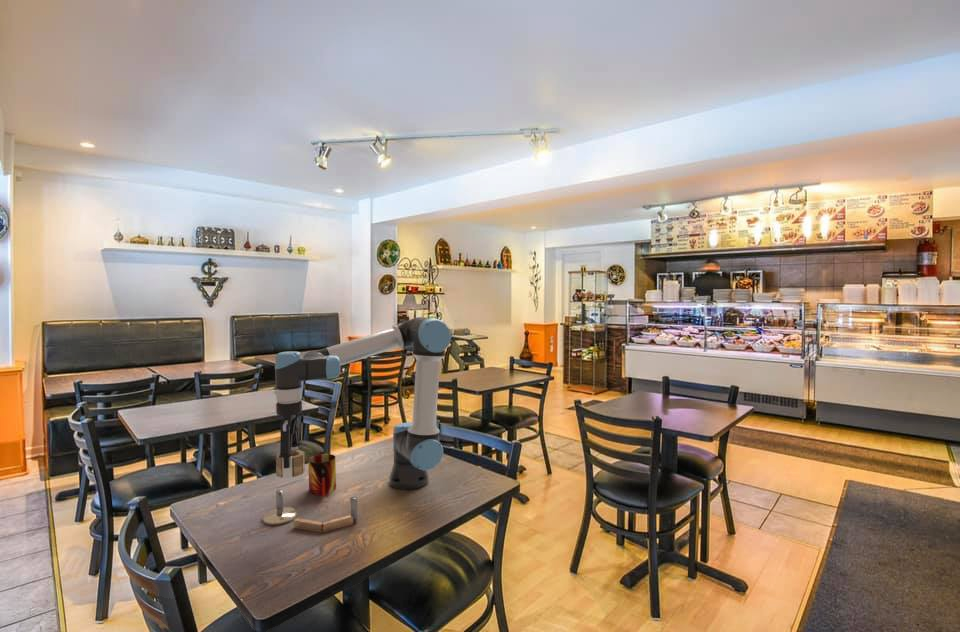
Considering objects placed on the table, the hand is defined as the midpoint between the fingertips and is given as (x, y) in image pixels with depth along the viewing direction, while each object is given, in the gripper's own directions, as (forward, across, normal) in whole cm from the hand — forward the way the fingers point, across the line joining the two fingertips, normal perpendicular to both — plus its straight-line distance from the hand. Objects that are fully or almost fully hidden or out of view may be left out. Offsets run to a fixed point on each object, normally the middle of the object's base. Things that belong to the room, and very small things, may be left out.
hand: (290, 471), depth 150 cm
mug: (+18, -25, +6) cm, 31 cm away
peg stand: (+17, -6, -5) cm, 19 cm away
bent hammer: (+17, +3, +11) cm, 21 cm away
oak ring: (0, 0, 0) cm, 0 cm away
